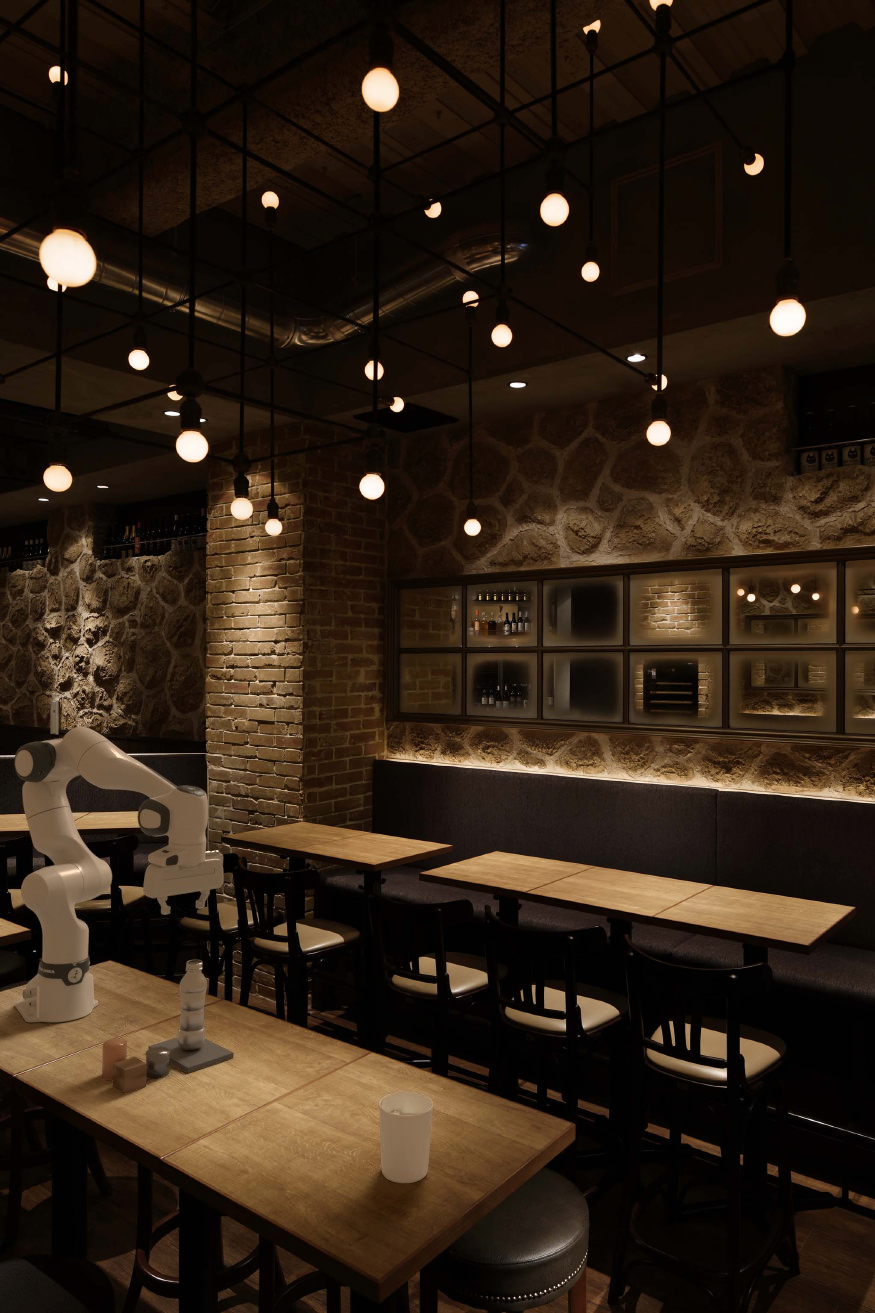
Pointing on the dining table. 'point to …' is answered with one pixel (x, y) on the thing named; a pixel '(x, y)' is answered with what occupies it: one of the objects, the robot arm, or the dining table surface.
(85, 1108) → the dining table surface
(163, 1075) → the dark metal tin
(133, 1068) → the walnut block
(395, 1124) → the candle holder
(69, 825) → the robot arm
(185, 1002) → the plastic bottle
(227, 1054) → the charcoal board
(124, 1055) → the terracotta jar
